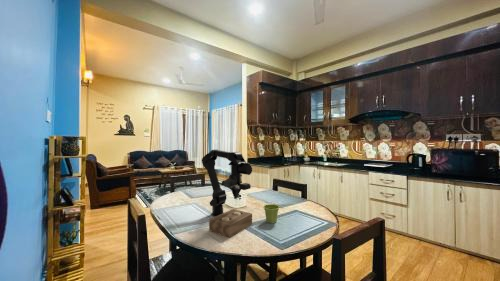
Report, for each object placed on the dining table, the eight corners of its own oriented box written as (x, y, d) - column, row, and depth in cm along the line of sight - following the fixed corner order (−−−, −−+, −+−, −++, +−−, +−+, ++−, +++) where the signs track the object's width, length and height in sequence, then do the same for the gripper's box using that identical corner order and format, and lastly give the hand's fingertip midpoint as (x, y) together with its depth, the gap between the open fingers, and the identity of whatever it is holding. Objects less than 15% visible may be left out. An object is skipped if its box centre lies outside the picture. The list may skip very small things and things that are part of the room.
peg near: (220, 228, 107) (220, 219, 107) (225, 225, 110) (225, 216, 110) (225, 230, 105) (225, 220, 105) (230, 227, 108) (230, 218, 108)
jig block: (209, 230, 108) (209, 219, 108) (233, 218, 124) (233, 208, 124) (229, 237, 100) (229, 225, 100) (252, 224, 116) (252, 213, 116)
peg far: (232, 222, 115) (232, 213, 115) (236, 220, 119) (236, 211, 119) (237, 223, 113) (237, 214, 113) (242, 221, 116) (242, 212, 116)
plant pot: (266, 225, 115) (266, 209, 115) (261, 219, 124) (261, 204, 124) (281, 223, 117) (282, 208, 117) (275, 217, 126) (275, 203, 126)
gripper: (215, 172, 121) (214, 199, 121) (238, 176, 110) (238, 205, 110) (228, 170, 130) (227, 195, 130) (251, 174, 119) (250, 200, 119)
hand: (235, 198), depth 122 cm, fingers closed
